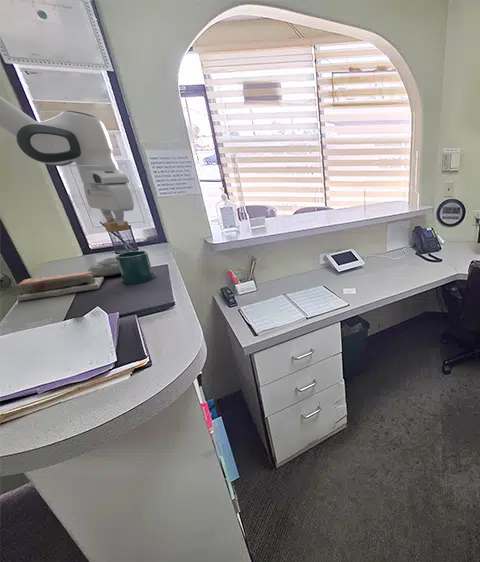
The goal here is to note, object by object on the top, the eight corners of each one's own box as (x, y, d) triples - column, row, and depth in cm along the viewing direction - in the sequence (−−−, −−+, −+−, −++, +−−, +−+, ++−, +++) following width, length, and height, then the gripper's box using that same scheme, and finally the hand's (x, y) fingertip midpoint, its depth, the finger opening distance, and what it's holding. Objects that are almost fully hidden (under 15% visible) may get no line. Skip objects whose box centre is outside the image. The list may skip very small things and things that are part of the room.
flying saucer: (119, 279, 104) (114, 264, 102) (76, 279, 105) (70, 264, 103) (150, 265, 118) (146, 252, 116) (112, 265, 119) (107, 252, 117)
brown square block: (112, 231, 91) (109, 223, 90) (106, 230, 93) (103, 222, 92) (129, 229, 95) (127, 221, 94) (123, 228, 96) (120, 220, 95)
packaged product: (10, 286, 86) (23, 276, 93) (17, 302, 87) (30, 291, 95) (94, 274, 94) (100, 266, 102) (99, 289, 96) (104, 280, 104)
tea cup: (131, 285, 99) (123, 258, 96) (119, 281, 103) (110, 255, 99) (158, 277, 106) (151, 252, 103) (145, 274, 109) (138, 249, 106)
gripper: (71, 176, 90) (88, 223, 95) (104, 177, 81) (120, 229, 86) (97, 175, 95) (112, 220, 100) (131, 176, 86) (145, 225, 91)
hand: (116, 224), depth 93 cm, fingers closed on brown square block, 4 cm apart
